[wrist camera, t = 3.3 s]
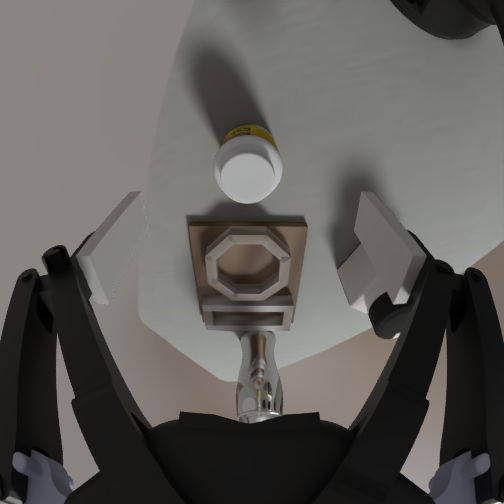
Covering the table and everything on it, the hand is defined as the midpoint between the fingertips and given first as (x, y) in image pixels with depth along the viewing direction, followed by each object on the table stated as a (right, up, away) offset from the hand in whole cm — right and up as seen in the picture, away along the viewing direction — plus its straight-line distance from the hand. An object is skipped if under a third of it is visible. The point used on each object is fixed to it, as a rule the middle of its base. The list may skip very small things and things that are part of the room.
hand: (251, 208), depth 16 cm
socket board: (-1, -6, +22) cm, 22 cm away
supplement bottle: (0, +9, +12) cm, 15 cm away
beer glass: (+1, -17, +30) cm, 35 cm away
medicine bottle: (+16, -4, +21) cm, 27 cm away
